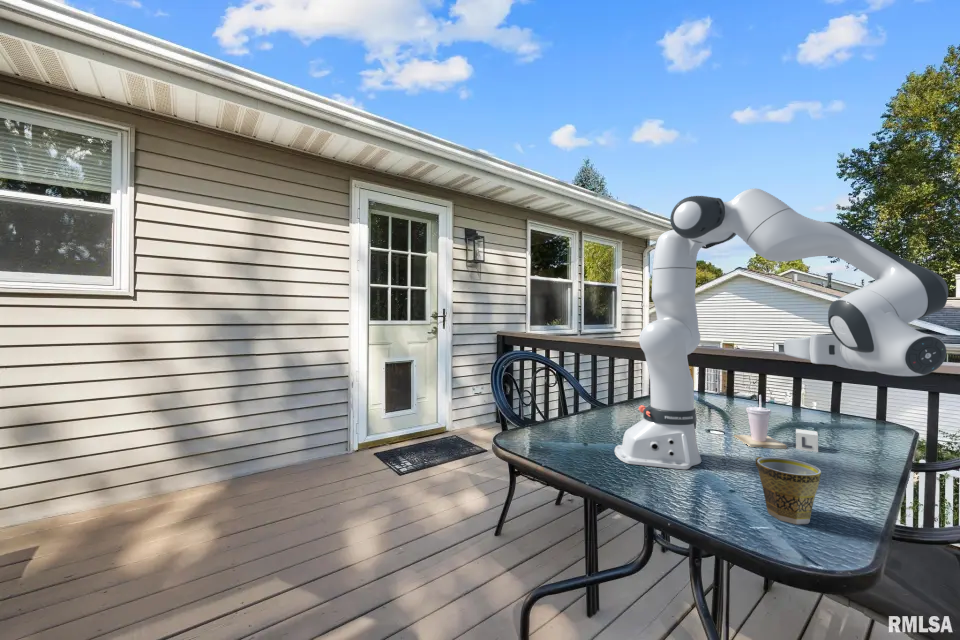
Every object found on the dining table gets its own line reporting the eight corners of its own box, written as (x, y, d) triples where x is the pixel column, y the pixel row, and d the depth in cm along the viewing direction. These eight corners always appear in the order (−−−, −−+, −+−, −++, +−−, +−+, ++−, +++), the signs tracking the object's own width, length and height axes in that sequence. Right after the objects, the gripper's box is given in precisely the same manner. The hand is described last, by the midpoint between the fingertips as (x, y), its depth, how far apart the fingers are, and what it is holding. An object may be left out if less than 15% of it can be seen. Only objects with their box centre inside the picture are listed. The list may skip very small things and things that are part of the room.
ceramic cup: (836, 527, 74) (835, 473, 74) (786, 530, 73) (785, 476, 73) (778, 497, 87) (777, 451, 87) (735, 499, 86) (734, 453, 86)
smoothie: (775, 443, 121) (775, 397, 121) (752, 442, 122) (751, 396, 122) (765, 437, 127) (764, 393, 127) (742, 436, 128) (742, 392, 128)
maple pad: (750, 447, 120) (750, 444, 120) (734, 437, 130) (734, 434, 130) (786, 448, 119) (786, 445, 119) (767, 438, 129) (767, 435, 129)
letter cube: (818, 452, 115) (817, 435, 115) (796, 449, 118) (795, 432, 118) (817, 448, 119) (817, 431, 119) (796, 445, 123) (795, 428, 123)
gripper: (912, 334, 85) (860, 332, 99) (806, 335, 88) (770, 333, 102) (912, 364, 85) (861, 358, 99) (807, 363, 88) (771, 357, 102)
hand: (814, 345), depth 101 cm, fingers open, 8 cm apart
